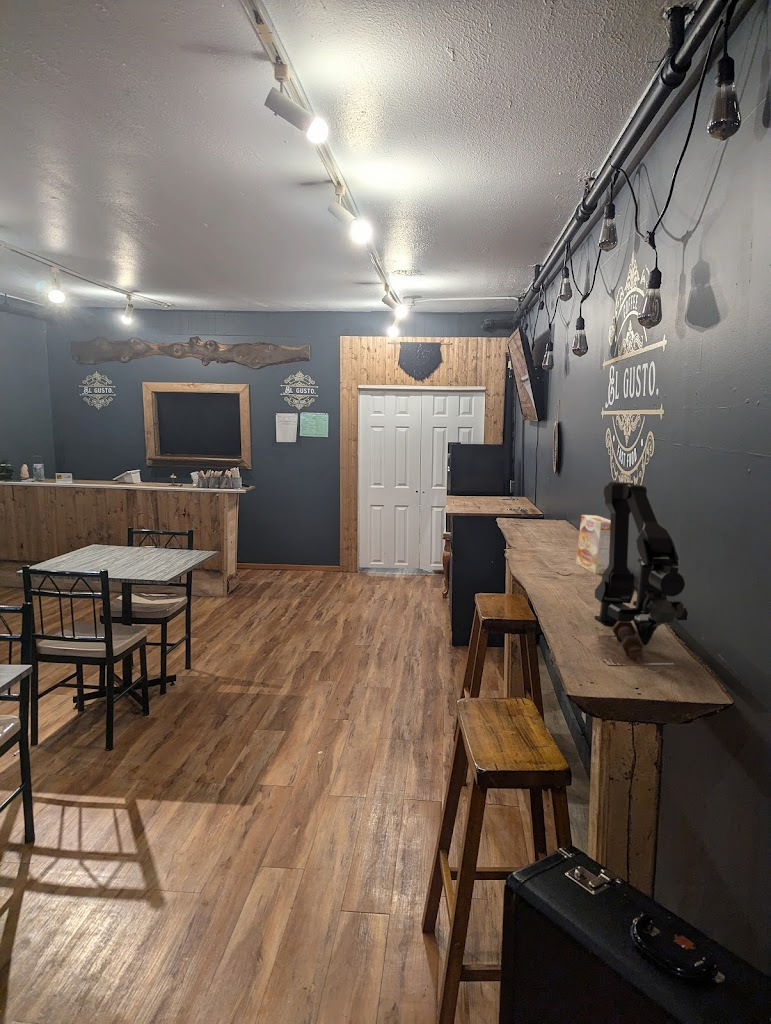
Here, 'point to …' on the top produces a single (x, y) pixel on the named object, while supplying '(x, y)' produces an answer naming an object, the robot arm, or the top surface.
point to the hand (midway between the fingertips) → (644, 644)
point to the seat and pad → (612, 650)
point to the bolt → (628, 638)
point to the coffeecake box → (594, 543)
